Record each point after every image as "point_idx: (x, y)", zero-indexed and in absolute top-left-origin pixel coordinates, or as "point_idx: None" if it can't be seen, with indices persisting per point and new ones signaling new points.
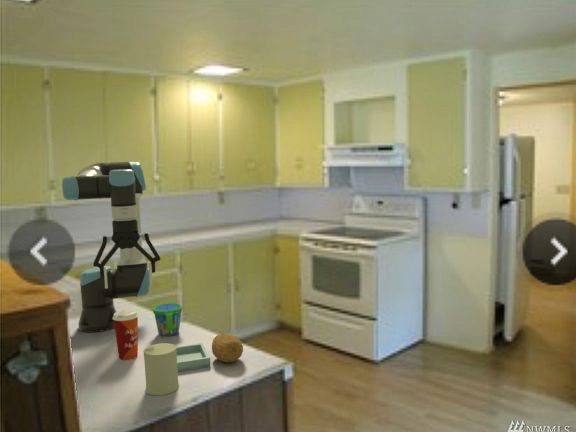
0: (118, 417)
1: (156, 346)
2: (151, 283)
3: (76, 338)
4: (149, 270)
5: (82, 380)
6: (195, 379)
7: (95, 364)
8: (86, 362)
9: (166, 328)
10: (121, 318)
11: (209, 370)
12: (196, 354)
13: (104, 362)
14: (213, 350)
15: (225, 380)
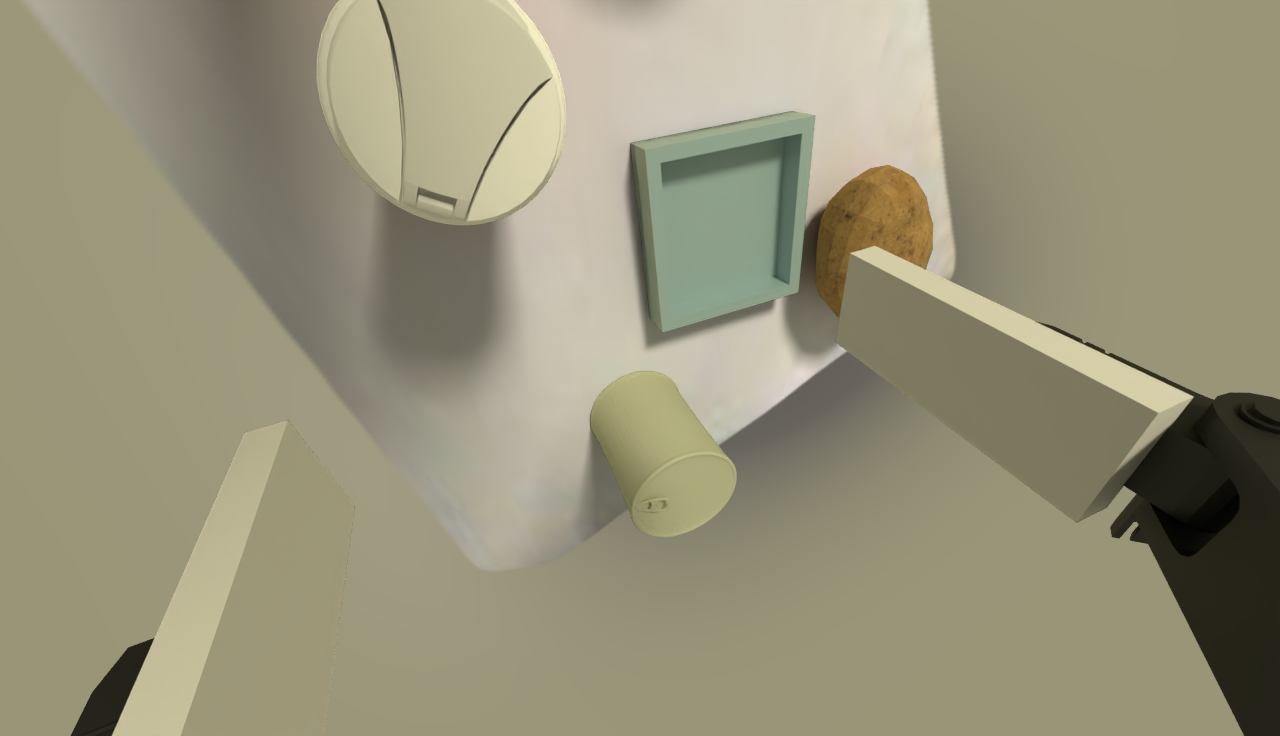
0: (545, 535)
1: (673, 477)
2: (848, 339)
3: None
4: (972, 444)
5: (316, 352)
6: (724, 364)
7: (276, 169)
8: (184, 121)
9: None
10: (450, 219)
11: (770, 308)
12: (762, 181)
13: (322, 149)
14: (825, 277)
15: (790, 373)
